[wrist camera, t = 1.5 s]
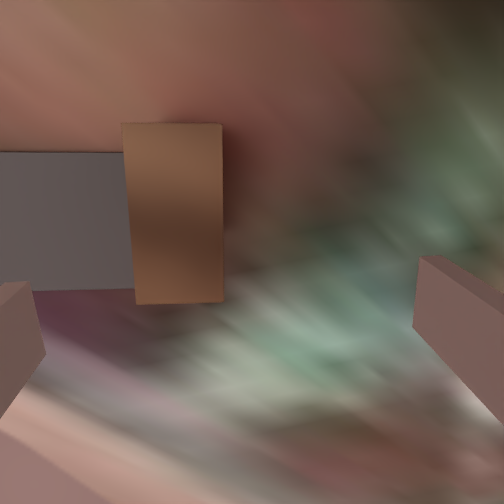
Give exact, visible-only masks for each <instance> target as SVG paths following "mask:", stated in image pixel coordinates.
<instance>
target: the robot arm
mask: <svg viewBox="0 0 504 504" xmlns="http://www.w3.org/2000/svg"><path fill="white" fill-rule="evenodd" d="M412 327H413V328H414V329H415V330H416V331H417V333H418V334H419V335H420V336H421V337H422V338H423V339H424V340H425V341H426V342H427V343H428V344H429V346H430V347H431V348H432V349H433V350H434V351H435V352H436V353H437V354H438V355H439V356H440V357H441V359H442V360H443V361H444V362H445V363H446V364H447V365H448V366H449V367H450V368H451V369H452V370H453V371H454V373H455V374H456V375H457V376H458V377H459V378H460V379H461V380H462V381H463V382H464V383H465V384H466V386H467V387H468V388H469V389H470V390H471V391H472V392H473V393H474V394H475V395H476V396H477V397H478V398H479V400H480V401H481V402H482V403H483V404H484V405H485V406H486V407H487V408H488V409H489V410H490V411H491V413H492V414H493V415H494V416H495V417H496V418H497V419H498V420H499V421H500V422H501V423H502V424H503V426H504V294H502V293H501V292H499V291H497V290H496V289H494V288H493V287H491V286H489V285H488V284H486V283H485V282H483V281H481V280H480V279H478V278H477V277H475V276H473V275H472V274H470V273H469V272H467V271H465V270H464V269H462V268H461V267H459V266H457V265H456V264H454V263H453V262H451V261H449V260H448V259H446V258H445V257H443V256H441V255H438V256H422V257H420V258H419V268H418V278H417V287H416V297H415V306H414V316H413V325H412ZM45 355H46V351H45V347H44V343H43V338H42V334H41V330H40V325H39V321H38V317H37V312H36V308H35V304H34V299H33V295H32V291H31V286H30V282H29V281H22V282H6V283H4V284H2V285H1V286H0V418H1V417H2V416H3V414H4V413H5V411H6V410H7V409H8V407H9V406H10V404H11V403H12V402H13V400H14V399H15V397H16V396H17V395H18V393H19V392H20V390H21V389H22V388H23V386H24V385H25V383H26V382H27V380H28V379H29V378H30V376H31V375H32V373H33V372H34V371H35V369H36V368H37V366H38V365H39V364H40V362H41V361H42V359H43V358H44V357H45Z"/></svg>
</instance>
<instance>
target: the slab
mask: <svg viewBox="0 0 504 504" xmlns="http://www.w3.org/2000/svg"><path fill="white" fill-rule="evenodd" d="M121 128H122V140H123V152H124V164H125V176H126V188H127V200H128V212H129V224H130V236H131V248H132V260H133V272H134V284H135V296H136V305H141V304H176V303H210V302H224V246H223V149H222V124H218V123H121Z"/></svg>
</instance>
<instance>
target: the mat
mask: <svg viewBox="0 0 504 504" xmlns="http://www.w3.org/2000/svg"><path fill="white" fill-rule="evenodd" d="M22 281H29V282H30V286H31V291H47V290H87V289H126V288H135V284H134V272H133V260H132V248H131V236H130V224H129V212H128V200H127V188H126V176H125V164H124V152H0V286H1V285H2V284H4V283H6V282H22Z"/></svg>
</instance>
